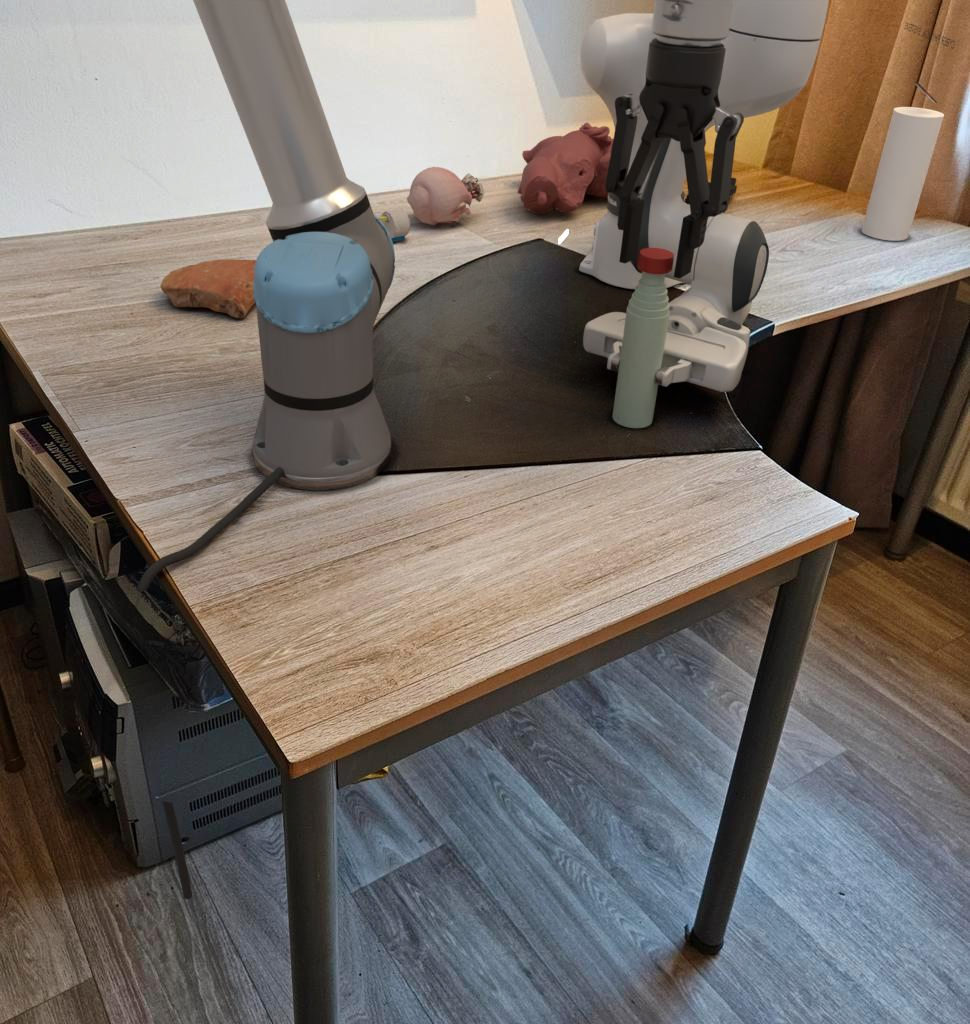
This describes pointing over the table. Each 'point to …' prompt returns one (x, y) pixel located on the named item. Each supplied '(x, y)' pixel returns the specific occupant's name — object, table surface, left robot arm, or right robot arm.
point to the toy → (442, 195)
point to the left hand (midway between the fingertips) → (654, 266)
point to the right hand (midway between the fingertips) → (636, 372)
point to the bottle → (642, 352)
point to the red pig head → (566, 170)
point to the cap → (655, 260)
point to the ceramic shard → (213, 286)
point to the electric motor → (396, 223)
